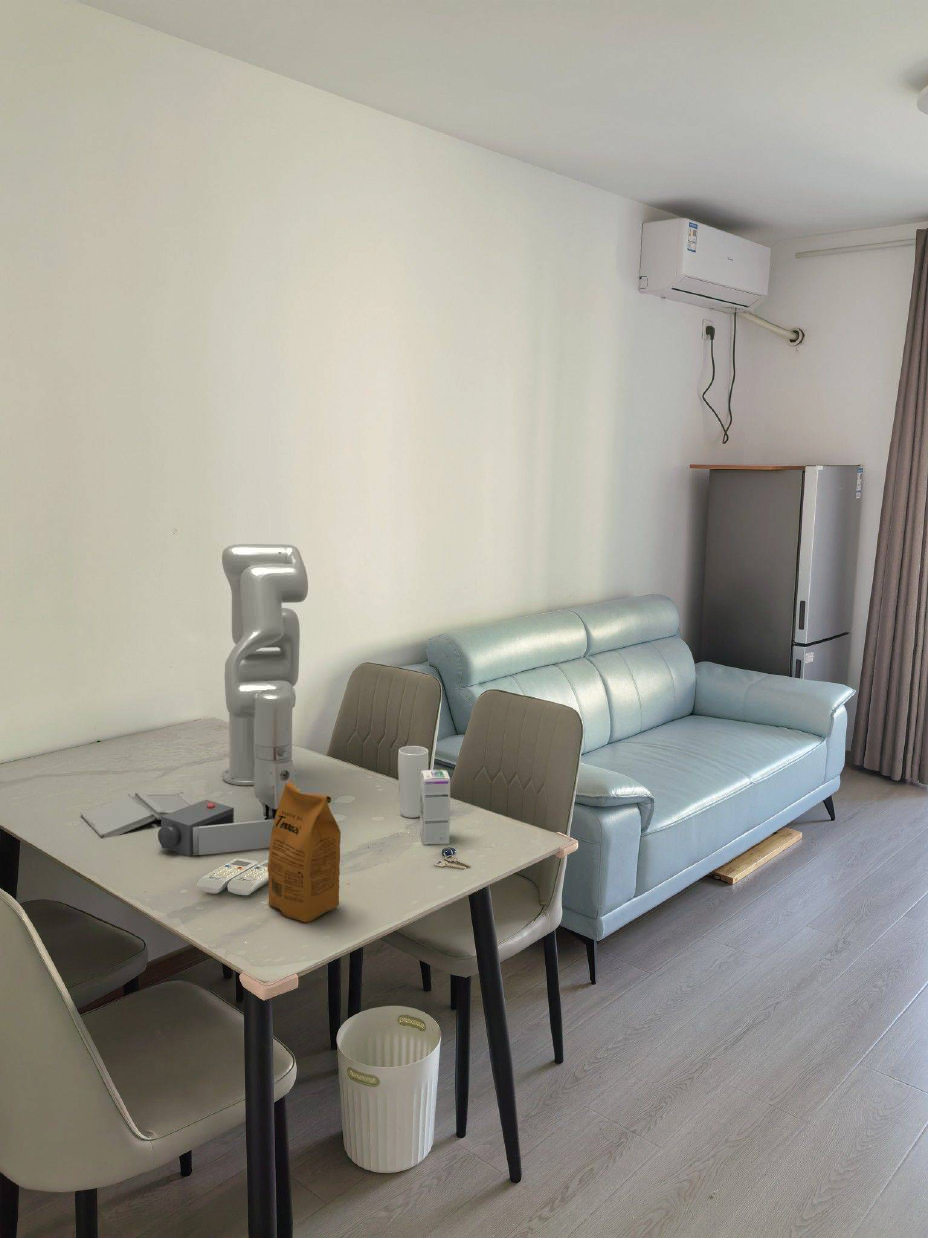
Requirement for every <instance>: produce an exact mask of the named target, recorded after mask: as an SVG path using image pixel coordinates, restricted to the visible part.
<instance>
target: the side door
mask: <svg viewBox="0 0 928 1238" xmlns="http://www.w3.org/2000/svg"><path fill="white" fill-rule="evenodd" d="M274 820H275V819H270V820H264V819H262V820H261V819H260V820H251V821H244V822H243V821H242V822H234V823H230V824H220V825H210V826H200V827H193V855H192V856H200V855H207V854H208V855H209V854H217V853H226V852H236V851H244V850H253V849H264V848H270V843H271V833H272V827H273V824H274Z"/></svg>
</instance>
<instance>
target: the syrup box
mask: <svg viewBox="0 0 928 1238" xmlns="http://www.w3.org/2000/svg"><path fill="white" fill-rule="evenodd" d="M419 822H420V823H419V836H420V839H421V843H422V845H424V846H425V845H426V846H432V845H431V844H441V845H449V844H450V830H451V829H450V823H451V778H450V776H449V773H448V770H446V769H428V770H424V771H421V803H420V817H419ZM448 843H449V844H448ZM428 844H430V845H428Z"/></svg>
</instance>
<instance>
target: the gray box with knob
mask: <svg viewBox="0 0 928 1238" xmlns="http://www.w3.org/2000/svg"><path fill="white" fill-rule="evenodd" d="M195 803H196V804H193V805H190V806H188V807H185V808H182V809H179V810H177V811H174V812H171V813H169V814H166V815H163V816H161V819H160V820H161V821H160V825H161V826H160V827H161V828H160V829H159V830H158V832H157V839H158V841H159V844H160V846H161V847H162V848H163V849H165V850H169V851H172V852H175V853H177V854H181V855H184V856H186V857H192V856H194V855H193V827H200V826H210V825H220V824H230V823H235V821H234V820H235V814H234V813H235V807H233V806H229V805H226V804H223V803H219V802H216V801H212V800H209V799H204V800H202V801H199V802H195Z"/></svg>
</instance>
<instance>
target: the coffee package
mask: <svg viewBox="0 0 928 1238" xmlns="http://www.w3.org/2000/svg"><path fill="white" fill-rule="evenodd" d="M331 802H332V797H331V796H329V795H326V794H325V795H324V794H318V793H317V794H316V793H314V794H313V793H306V792H304V793H303V792H301V791H300V790H299V789H298V788H297V787H296V784H295V785H293V784H292V783H291V782H290V781H289V782H287V783H286V784H285V787H284V791H283V794H282V796H281V799H280V803H279V807H278V810H277V813H276V816H275V820H274V824H273V827H272V833H271V843H270V847H269V851H268V862H267V876H268V906H269V907H273V908H276V909H278V910H280V912H281V913H282V914H283V915H284V916H285V917H287V918H289V919H293V920H298V921H301V922H303V923H309V922H312V921H314V920H315V919H317V918H319V917H320V916H322V915H323V914H325V913H326V912H330V911H332V910H335V908H336V907H338V906H339V905H340V873H341V871H340V862H341V833H342V832H341V830H340V827H339V825H338V822H337V821H336V819H335V817H334V815H333V813H332V811H331V809H330V806H329V804H330V803H331Z"/></svg>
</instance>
